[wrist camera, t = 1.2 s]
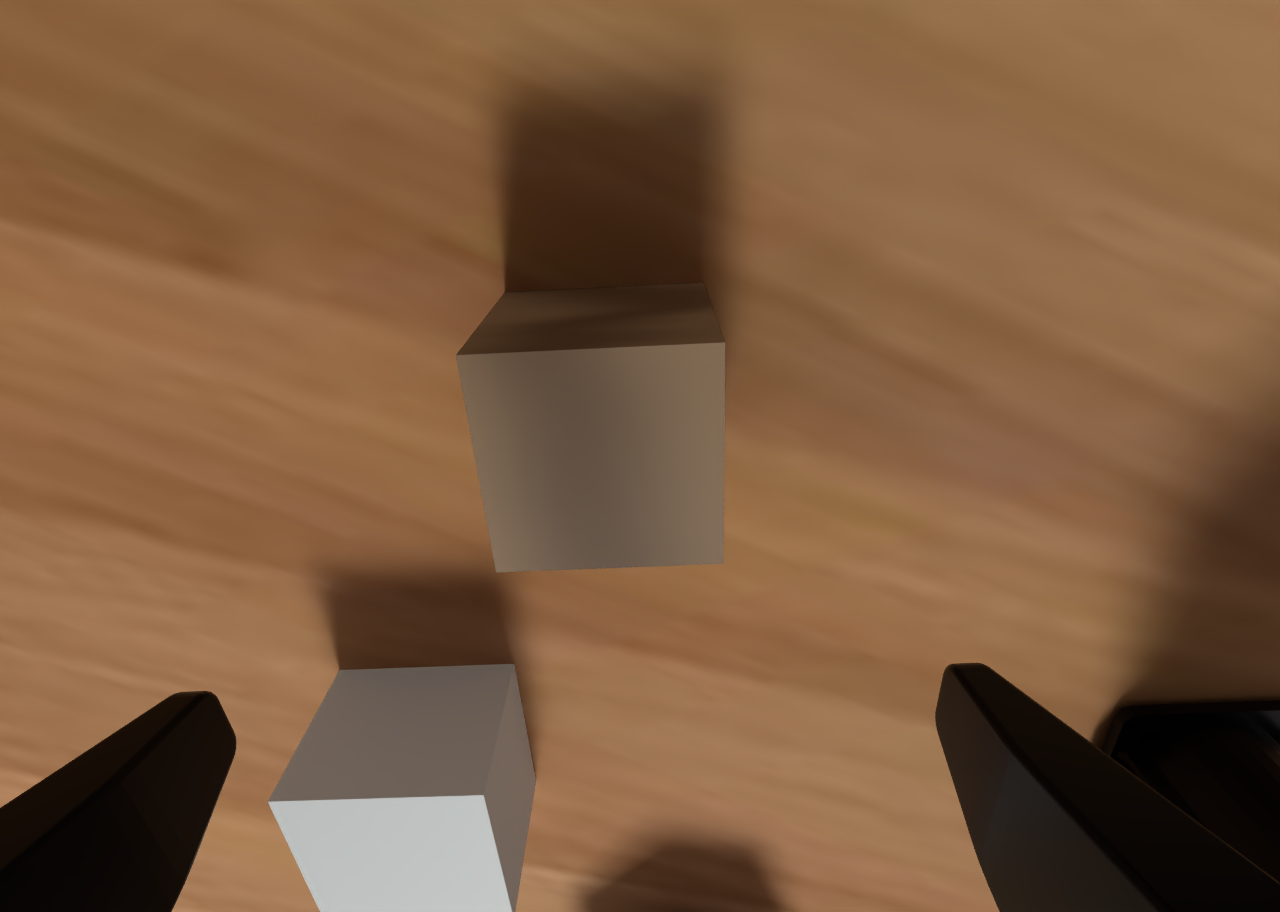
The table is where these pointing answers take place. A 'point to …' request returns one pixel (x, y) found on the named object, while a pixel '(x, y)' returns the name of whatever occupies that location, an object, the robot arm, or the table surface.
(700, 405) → the brown cube
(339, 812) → the grey block
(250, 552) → the table surface
